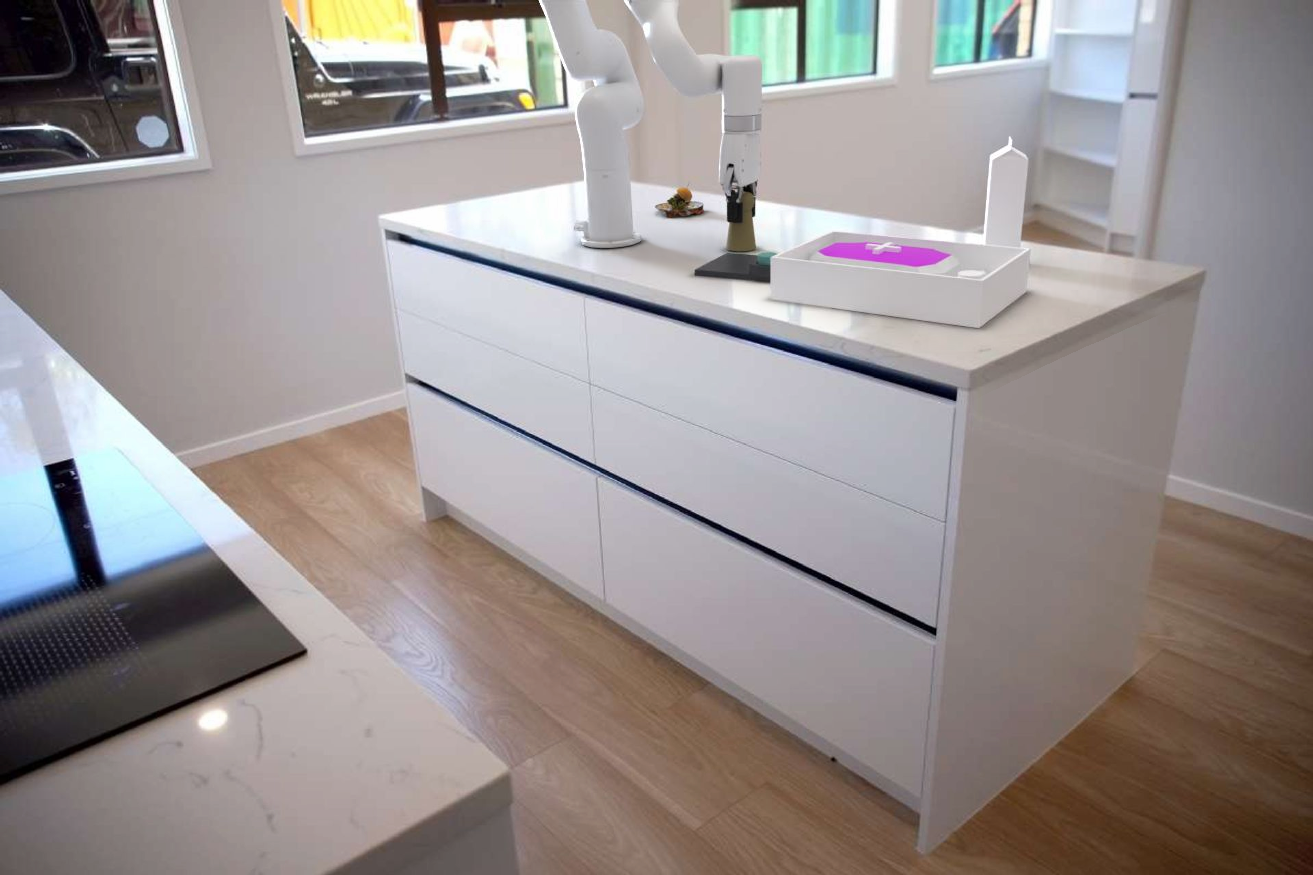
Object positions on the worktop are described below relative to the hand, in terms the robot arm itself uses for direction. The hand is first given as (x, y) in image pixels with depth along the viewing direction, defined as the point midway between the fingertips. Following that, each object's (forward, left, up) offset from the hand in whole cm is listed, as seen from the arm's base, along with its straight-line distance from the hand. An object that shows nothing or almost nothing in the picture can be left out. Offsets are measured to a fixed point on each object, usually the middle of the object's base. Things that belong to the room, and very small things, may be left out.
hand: (741, 218), depth 197 cm
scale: (+9, -15, -6) cm, 18 cm away
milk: (+50, +3, -6) cm, 50 cm away
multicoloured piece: (-30, +31, -6) cm, 44 cm away
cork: (0, 0, -6) cm, 6 cm away
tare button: (+14, -19, -4) cm, 24 cm away
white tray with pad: (+39, -23, -6) cm, 45 cm away
